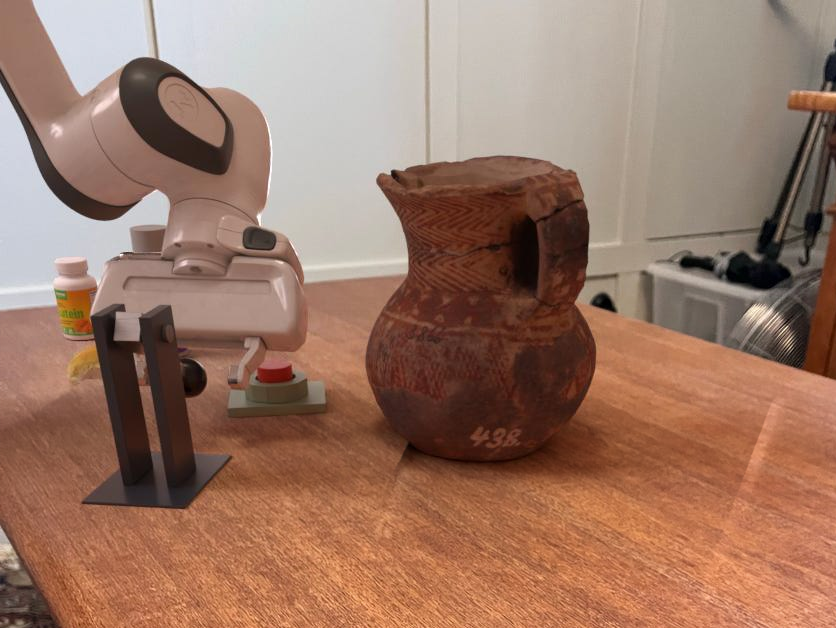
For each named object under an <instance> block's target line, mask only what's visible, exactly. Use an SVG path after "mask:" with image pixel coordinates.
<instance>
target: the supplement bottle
mask: <svg viewBox="0 0 836 628" xmlns="http://www.w3.org/2000/svg"><path fill="white" fill-rule="evenodd" d="M53 263H54V269H55V272H56V273H57V274H58V276H57V277H55V278H54V280H53V282H52V283H53V284H52V285H53V290H54V291H53V292H54V295H55V300H56V301H55V302H56V305H57V310H58V315H59V319H60V325H61V329H62V334H63V337H64V338H65V339H68V340H71V341H89V340H95V339H94V334H93V329H92V324H91V322H90V312H91V308H92V305H93V301H94V298H95V295H96V292H97V289H98V287H99V286H98V282H97V279H96V278H95V277H94V276H92V274H88V271H89V264H88V260H87V258H85V257H83V256H67V257H60V258H55V259H54V261H53Z"/></svg>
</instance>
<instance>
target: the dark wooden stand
mask: <svg viewBox="0 0 836 628" xmlns="http://www.w3.org/2000/svg"><path fill="white" fill-rule="evenodd" d="M116 312H126V309H125V304H115V303H114V304H112V305H110V306H108V307H106V308H104V309H103V310H101V311H99V312H97V313H95V314H93V315H92V316H90V318H91V324H92V329H93V334H94V339H93V340H94V343H95V344H94V345H96V349H97V354H98V359H99V364H100V369H101V375H102V379H101V380H102V385H103V389H104V395H105V400H106V404H107V405H106V406H107V410H108V415H109V420H110V426H111V430H112V435H113V440H114V446H115V451H116V457H117V461H118V466H119V467H118V469H117V470H115V472H112V474H111V475H110V476H109V477H107V478H106V479H105V480H104V481H102V483H101V484H99V486H97V487H96V488H95V489H94V490H93V491H91V492H90V493H89V494H88V495H87V496H86V497H85V498H84V499H82V501H81V505H91V506H92V505H93V506H97V505H98V506H111V507H112V506H113V507H129V508H130V507H134V508H152V509H170V510H171V509H172V510H174V509H175V510H186V509H187V508H188V506H190V504H191V503H192V502H193V501H194V500H195V499H196V498H197V497H198V496H199V494H200V493H201V492H202V491H203V490H204V489H205V488H206V487H207V486H208V485H209V484H210V483H211V481H213V479H214V478H215V477H216V476H217V475H218V474H219V472H220V471H221V470H223V469H224V467H225V466H226V465H227V464H228V463H229V462H230V460H231V459H232V458H233V455H232V454H223V453H222V454H221V453H202V452H201V453H199V452H195V450H194V445H193V443H194V442H193V438H192V431H191V425H190V418H189V412H188V405H187V398H185V392H184V385H183V379H182V372H181V366H180V359H181V358H180V357H179V353H178V346H177V340H176V333H175V327H174V321H173V314H172V308H171V305H159V306H157V307H155V308H154V309H152V310H150V311H149V312H147V313H145V314H144V315H142V316H140V317H139V324H140V330H141V336H142V341H143V347H144V353H145V355H144V358H145V359H144V360H145V362H146V365H147V370H148V376H149V382H150V386H149V387H150V394H151V399H152V404H153V405H152V406H153V411H154V417H155V421H156V428H157V434H158V439H159V446H160V451H156V450H155V451H153V450H151V445H150V439H149V433H148V428H147V427H148V426H147V423H146V418H145V417H146V416H145V412H144V411H145V410H144V405H143V400H142V395H141V394H142V393H141V389H140V386H139V382H138V377H137V371H136V365H135V360H134V354H133V353H128V352H127V351H126V350H125V349H124V348H122V347H121V346H120V345H119V344H117V343H116V342H115V341H114V330H115V319H116Z"/></svg>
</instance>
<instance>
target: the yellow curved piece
mask: <svg viewBox="0 0 836 628" xmlns="http://www.w3.org/2000/svg"><path fill="white" fill-rule="evenodd" d="M141 360H142V362H144V360H143V359H142V358H141ZM66 377H67V379H68V381H69V382H70V383H71V384H72V385H74V386H78V385H79V384H81V383H82V382H84V381H85V380H91V379H92V380H102V375H101V369H100V364H99V359H98V354H97V349H96V344H93V345H92V346H89V347H87V348H85V349H83V350H81V351H79V352H77V353H76V354H75V356H73V358H72V359H71V361H70V362H69V363H68V365H67V367H66Z"/></svg>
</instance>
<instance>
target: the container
mask: <svg viewBox="0 0 836 628" xmlns="http://www.w3.org/2000/svg"><path fill="white" fill-rule="evenodd" d="M166 225H167V224H141V225H135V226H131V227H129V234H130V240H131V247H132V252H134V253H146V252H162V246H163V241H164V235H165V230H166ZM188 350H189V349H188V348H178V353H179V358H183V357H185V356H187V355H188V353H189V351H188Z"/></svg>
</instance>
